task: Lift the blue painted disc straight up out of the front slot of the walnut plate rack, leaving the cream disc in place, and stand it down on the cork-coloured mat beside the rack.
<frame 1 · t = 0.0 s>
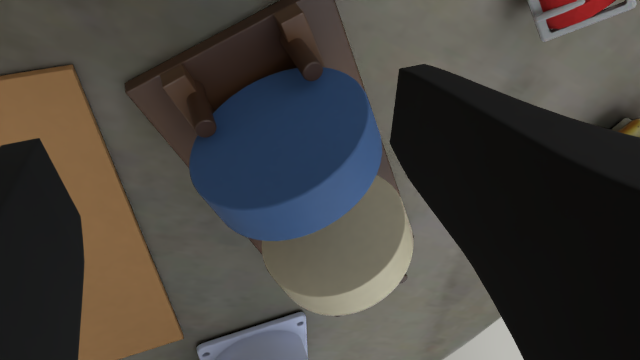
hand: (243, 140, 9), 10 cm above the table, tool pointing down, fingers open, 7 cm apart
cream disc: (336, 237, 22), point 5 cm above the table, touching rack
mat: (28, 266, 22), on the table
rack: (305, 176, 25), on the table
blue disc: (285, 147, 17), point 5 cm above the table, touching rack
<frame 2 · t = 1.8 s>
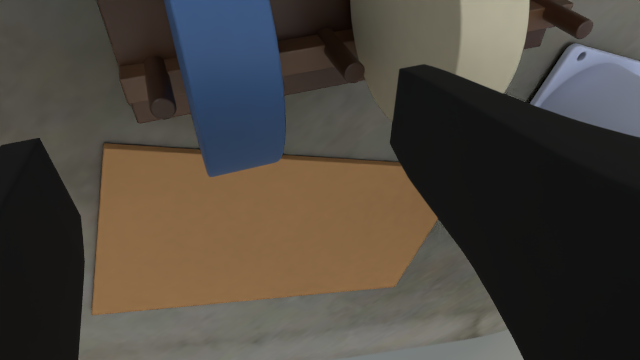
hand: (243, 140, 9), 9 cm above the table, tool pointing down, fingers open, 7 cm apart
cream disc: (422, 13, 14), point 5 cm above the table, touching rack
mat: (290, 233, 26), on the table
blue disc: (214, 46, 13), point 5 cm above the table, touching rack
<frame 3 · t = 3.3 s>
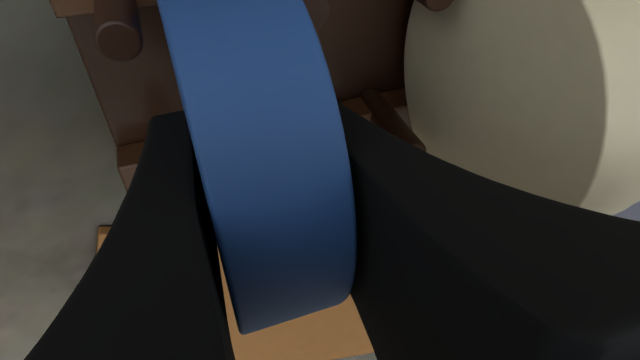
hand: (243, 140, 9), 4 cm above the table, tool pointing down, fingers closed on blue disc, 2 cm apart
cream disc: (510, 89, 11), point 5 cm above the table, touching rack
mat: (313, 301, 23), on the table
rack: (415, 15, 14), on the table
blue disc: (245, 148, 9), point 5 cm above the table, touching gripper, rack
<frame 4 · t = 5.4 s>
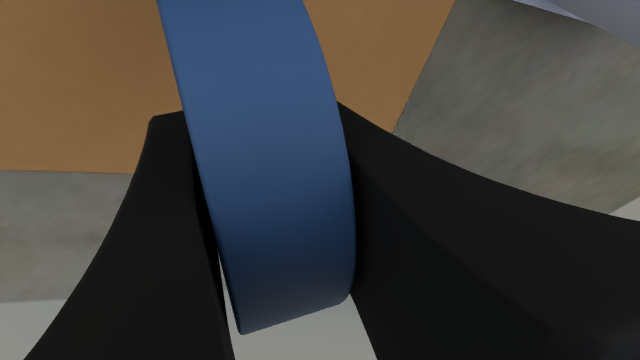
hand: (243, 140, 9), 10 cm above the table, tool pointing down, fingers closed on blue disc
mat: (218, 70, 20), on the table
blue disc: (244, 148, 9), point 11 cm above the table, touching gripper
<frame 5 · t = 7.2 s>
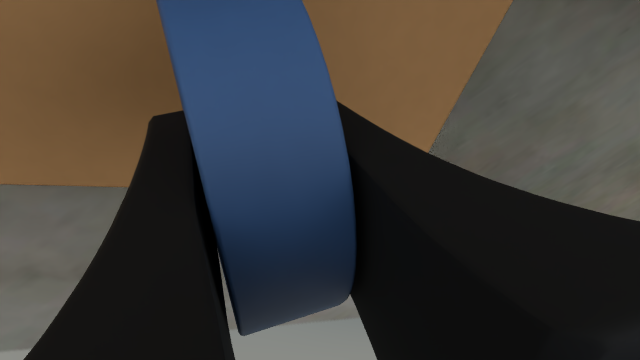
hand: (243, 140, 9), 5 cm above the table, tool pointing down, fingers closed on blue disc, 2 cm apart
mat: (203, 35, 13), on the table
blue disc: (245, 149, 9), point 6 cm above the table, touching gripper
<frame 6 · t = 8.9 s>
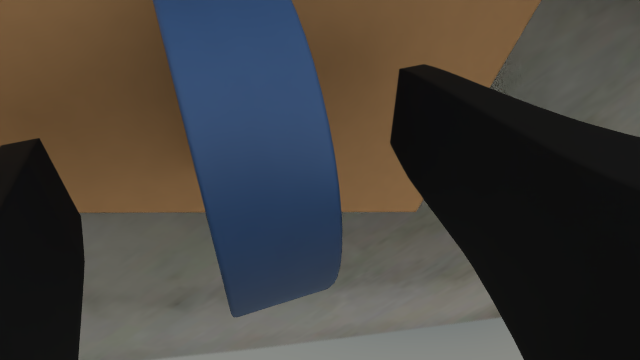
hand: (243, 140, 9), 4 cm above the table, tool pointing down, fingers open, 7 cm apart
mat: (207, 54, 12), on the table
blue disc: (237, 139, 10), point 4 cm above the table, touching mat
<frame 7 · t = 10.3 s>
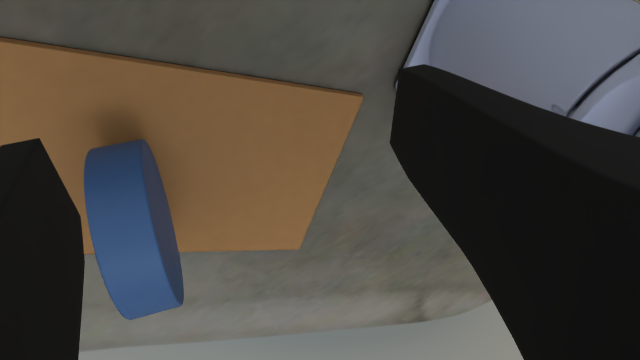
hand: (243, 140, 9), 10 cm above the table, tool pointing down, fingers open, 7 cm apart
mat: (136, 167, 21), on the table
blue disc: (139, 227, 19), point 4 cm above the table, touching mat
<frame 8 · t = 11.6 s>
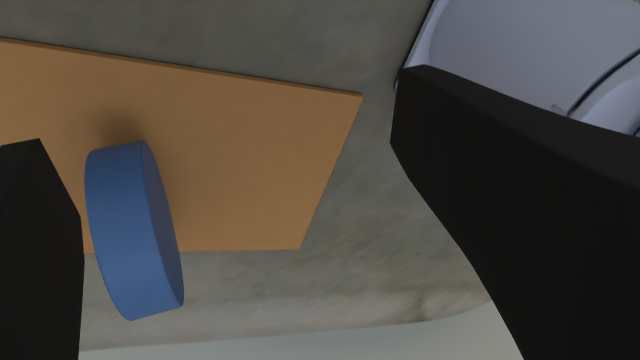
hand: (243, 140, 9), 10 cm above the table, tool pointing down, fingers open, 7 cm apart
mat: (136, 167, 21), on the table
blue disc: (139, 228, 19), point 4 cm above the table, touching mat
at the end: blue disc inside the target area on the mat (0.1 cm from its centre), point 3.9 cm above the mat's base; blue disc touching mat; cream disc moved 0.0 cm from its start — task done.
